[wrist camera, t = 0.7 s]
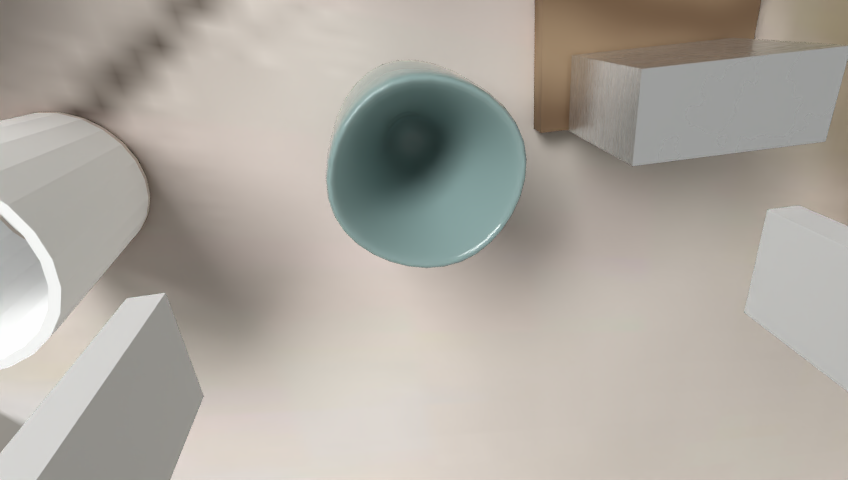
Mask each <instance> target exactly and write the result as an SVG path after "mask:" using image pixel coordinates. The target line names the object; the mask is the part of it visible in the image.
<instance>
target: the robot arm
mask: <svg viewBox="0 0 848 480" xmlns="http://www.w3.org/2000/svg"><path fill="white" fill-rule="evenodd" d="M744 313H745V314H747V315H748V316H749V317H751V318H752V319H753V320H755V321H756V322H757V323H758V324H760V325H761V326H762V327H764V328H765V329H766V330H768V331H769V332H770V333H772V334H773V335H774V336H775V337H777V338H778V339H779V340H781V341H782V342H783V343H785V344H786V345H787V346H789V347H790V348H791V349H792V350H794V351H795V352H796V353H798V354H799V355H800V356H802V357H803V358H804V359H806V360H807V361H808V362H810V363H811V364H812V365H813V366H815V367H816V368H817V369H819V370H820V371H821V372H823V373H824V374H825V375H827V376H828V377H829V378H830V379H832V380H833V381H834V382H836V383H837V384H838V385H840V386H841V387H842V388H844V389H845V390H846V391H847V392H848V226H847V225H845V224H842V223H840V222H837V221H835V220H833V219H830V218H828V217H826V216H823V215H821V214H819V213H816V212H814V211H812V210H809V209H807V208H805V207H802V206H800V205H796V206H789V207H782V208H775V209H767V213H766V218H765V222H764V226H763V231H762V235H761V240H760V244H759V248H758V253H757V257H756V262H755V266H754V271H753V275H752V279H751V284H750V288H749V293H748V297H747V302H746V306H745V310H744ZM203 397H204V396H203V393H202V390H201V387H200V385H199V382H198V379H197V377H196V374H195V371H194V368H193V366H192V363H191V360H190V358H189V355H188V352H187V349H186V347H185V344H184V341H183V339H182V336H181V333H180V330H179V328H178V325H177V322H176V320H175V317H174V314H173V312H172V309H171V306H170V303H169V301H168V298H167V295H166V293H160V294H153V295H146V296H138V297H131V298H126V300H125V301H124V302H123V303H122V305H121V306H120V307H119V308H118V309H117V311H116V312H115V313H114V314H113V316H112V317H111V318H110V319H109V321H108V322H107V323H106V324H105V325H104V327H103V328H102V329H101V330H100V332H99V333H98V334H97V335H96V336H95V338H94V339H93V340H92V341H91V343H90V344H89V345H88V346H87V348H86V349H85V350H84V351H83V352H82V354H81V355H80V356H79V357H78V359H77V360H76V361H75V362H74V363H73V365H72V366H71V367H70V368H69V370H68V371H67V372H66V373H65V375H64V376H63V377H62V378H61V379H60V381H59V382H58V383H57V384H56V386H55V387H54V388H53V389H52V390H51V392H50V393H49V394H48V395H47V397H46V398H45V399H44V400H43V402H42V403H41V404H40V405H39V406H38V408H37V409H36V410H35V411H34V413H33V414H32V415H31V416H30V417H29V419H28V420H27V421H26V422H25V424H24V425H23V426H22V427H21V428H20V430H19V431H18V432H17V433H16V435H15V436H14V437H13V438H12V440H11V441H10V442H9V443H8V444H7V446H6V447H5V448H4V449H3V451H2V452H1V453H0V480H170V479H171V476H172V474H173V471H174V469H175V466H176V464H177V461H178V459H179V456H180V454H181V451H182V449H183V446H184V444H185V441H186V439H187V436H188V434H189V431H190V429H191V426H192V424H193V421H194V419H195V416H196V414H197V411H198V409H199V407H200V404H201V402H202V399H203Z"/></svg>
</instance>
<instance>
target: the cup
mask: <svg viewBox="0 0 848 480" xmlns="http://www.w3.org/2000/svg"><path fill="white" fill-rule="evenodd" d="M525 173H526V153H525V146H524V141H523V138H522V136H521V133H520V131H519V129H518V126H517V124H516V122H515V121H514V119H513V118H512V117H511V115H510V114H509V113H508V111H507V110H506V108H505V107H504V106H503V105H502V104H501V103H500V102H499V101H498V100H496V99H495V98H494V97H493V96H492V95H491V94H490V93H489V92H487V91H486V90H485V89H483V88H482V87H480V86H478V85H477V84H475V83H473V82H472V81H470V80H468V79H467V78H465V77H463V76H462V75H460V74H458V73H456V72H454V71H452V70H450V69H447V68H445V67H442V66H439V65H436V64H434V63H430V62H424V61H418V60H397V61H393V62H389V63H386V64H382V65H380V66H378V67H377V68H375V69H373V70H371V71H370V72H368V73H367V74H366V75H365V76H364V77H363V78H362V79H361V80H359V81H358V82H357V83H356V84H355V86H354V87H353V89H352V90H351V91H350V93H349V94H348V95H347V97H346V99H345V101H344V103H343V105H342V107H341V109H340V111H339V113H338V115H337V118H336V121H335V125H334V128H333V132H332V135H331V139H330V144H329V149H328V156H327V167H326V184H327V193H328V199H329V202H330V205H331V208H332V210H333V213H334V216H335V218H336V219H337V221H338V222H339V224H340V225H341V227H342V228H343V230H344V231H345V232H346V233H347V234H348V235H349V236H350V237H351V238H352V239H353V240H354V241H355V242H356V243H357V244H358V245H360V246H361V247H363V248H364V249H366V250H368V251H369V252H371V253H372V254H374V255H376V256H379V257H381V258H383V259H385V260H388V261H390V262H394V263H398V264H401V265H405V266H411V267H422V268H431V267H444V266H447V265H451V264H455V263H458V262H461V261H463V260H465V259H467V258H469V257H471V256H473V255H475V254H477V253H478V252H479V251H480V250H482V249H483V248H484V247H485V246H487V245H488V244H489V243H490V242H491V241H492V240H493V239H494V238H495V237H496V236H497V235H498V233H499V232H500V231H501V230H502V229H503V228H504V226H505V224H506V223H507V221H508V220H509V218H510V217H511V215H512V214H513V212H514V209H515V207H516V205H517V203H518V200H519V198H520V196H521V192H522V188H523V184H524V181H525Z"/></svg>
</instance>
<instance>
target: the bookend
mask: <svg viewBox="0 0 848 480" xmlns="http://www.w3.org/2000/svg"><path fill="white" fill-rule="evenodd" d="M847 59H848V45H837V44H822V43H806V42H791V41H775V40H760V39H744V38H726V39H717V40H707V41H698V42H689V43H680V44H671V45H661V46H652V47H643V48H634V49H625V50H615V51H606V52H597V53H588V54H579V55H572V59H571V85H570V111H569V131H570V132H571V133H573V134H575V135H577V136H579V137H580V138H582V139H584V140H586V141H588V142H590V143H591V144H593V145H595V146H597V147H599V148H600V149H602V150H604V151H606V152H608V153H609V154H611V155H613V156H615V157H617V158H618V159H620V160H622V161H624V162H626V163H627V164H629V165H631V166H638V165H645V164H653V163H661V162H669V161H677V160H685V159H692V158H700V157H708V156H716V155H724V154H732V153H739V152H747V151H755V150H763V149H771V148H778V147H786V146H794V145H802V144H810V143H818V142H825V141H826V137H827V134H828V130H829V126H830V123H831V119H832V115H833V111H834V108H835V104H836V100H837V97H838V93H839V89H840V85H841V82H842V78H843V74H844V71H845V67H846V63H847Z"/></svg>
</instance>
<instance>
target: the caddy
mask: <svg viewBox="0 0 848 480" xmlns="http://www.w3.org/2000/svg"><path fill="white" fill-rule="evenodd" d="M760 4H761V0H535V61H534V129H536V130H537V131H539V132H540V133H544V132H553V131H561V130H569V111H570V85H571V59H572V55H579V54H588V53H597V52H606V51H615V50H625V49H634V48H643V47H652V46H661V45H671V44H680V43H689V42H698V41H707V40H717V39H726V38H744V39H754V36H755V30H756V25H757V20H758V15H759V9H760Z"/></svg>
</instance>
